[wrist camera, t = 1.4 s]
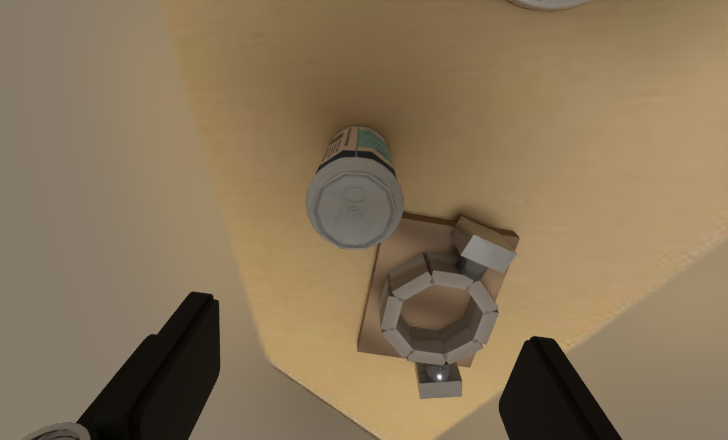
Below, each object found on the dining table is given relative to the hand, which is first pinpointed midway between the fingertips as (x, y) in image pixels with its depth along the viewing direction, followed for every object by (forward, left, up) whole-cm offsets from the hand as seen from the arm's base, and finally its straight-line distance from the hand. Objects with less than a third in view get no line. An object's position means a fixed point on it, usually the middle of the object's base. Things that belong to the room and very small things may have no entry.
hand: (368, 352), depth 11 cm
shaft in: (+3, +9, -18) cm, 20 cm away
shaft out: (+15, +9, -18) cm, 25 cm away
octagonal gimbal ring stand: (+9, +8, -19) cm, 22 cm away
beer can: (-2, -1, -19) cm, 19 cm away
